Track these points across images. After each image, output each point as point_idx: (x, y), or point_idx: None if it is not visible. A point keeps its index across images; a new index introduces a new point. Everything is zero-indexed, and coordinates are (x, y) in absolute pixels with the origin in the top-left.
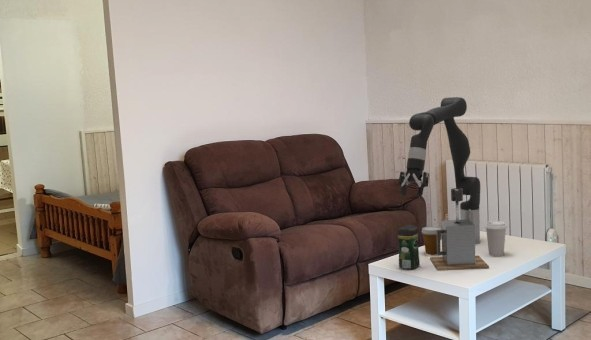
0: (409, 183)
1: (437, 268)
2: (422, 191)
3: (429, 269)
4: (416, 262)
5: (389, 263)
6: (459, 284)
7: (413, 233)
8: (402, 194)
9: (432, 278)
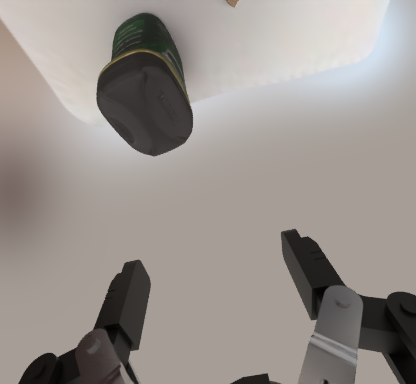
0: (121, 373)
1: (235, 5)
2: (327, 265)
3: (208, 18)
4: (177, 52)
5: (84, 78)
6: (346, 55)
7: (191, 110)
8: (148, 285)
9: (269, 75)
